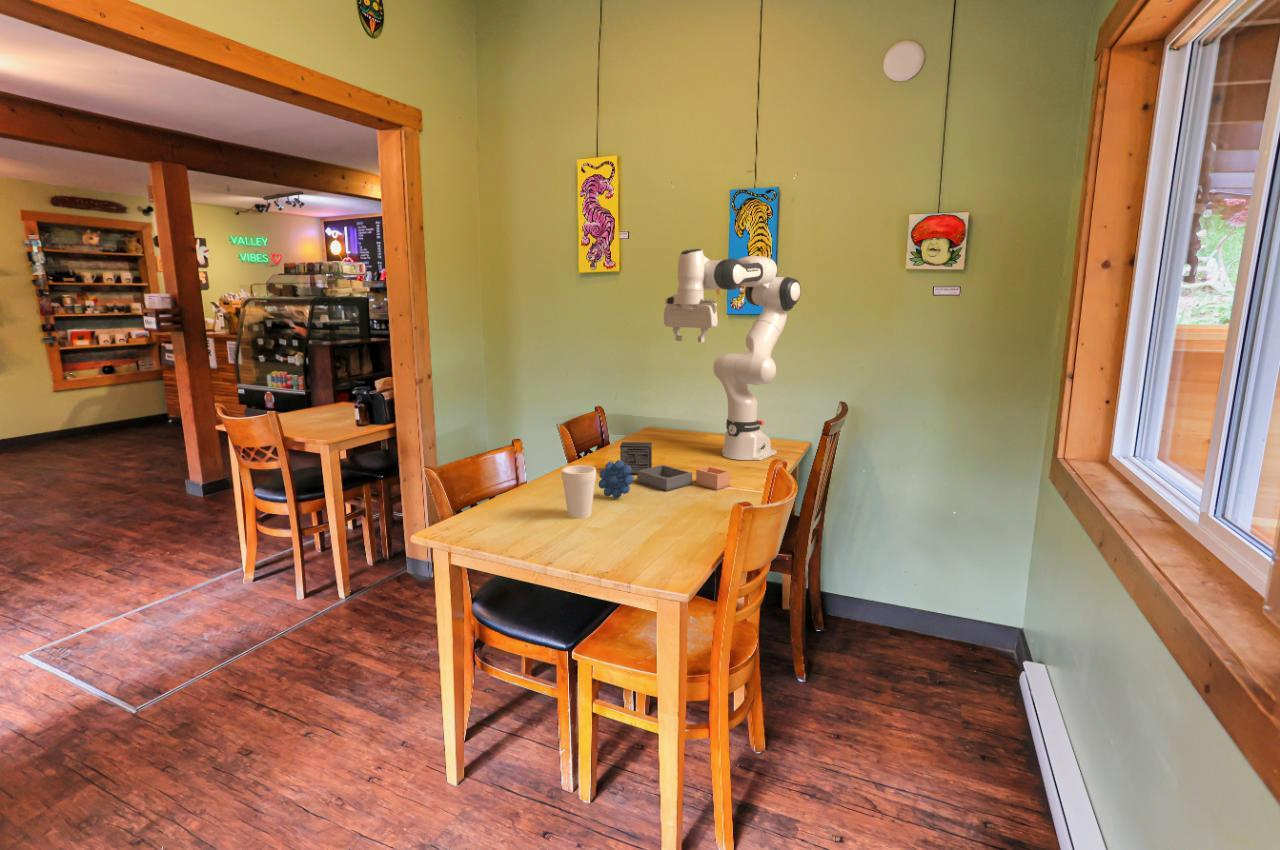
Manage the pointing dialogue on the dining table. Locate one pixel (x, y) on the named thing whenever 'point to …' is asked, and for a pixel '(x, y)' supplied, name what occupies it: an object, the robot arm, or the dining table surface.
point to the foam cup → (579, 489)
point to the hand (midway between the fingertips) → (689, 341)
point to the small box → (636, 455)
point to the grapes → (615, 479)
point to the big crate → (664, 477)
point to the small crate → (713, 478)
